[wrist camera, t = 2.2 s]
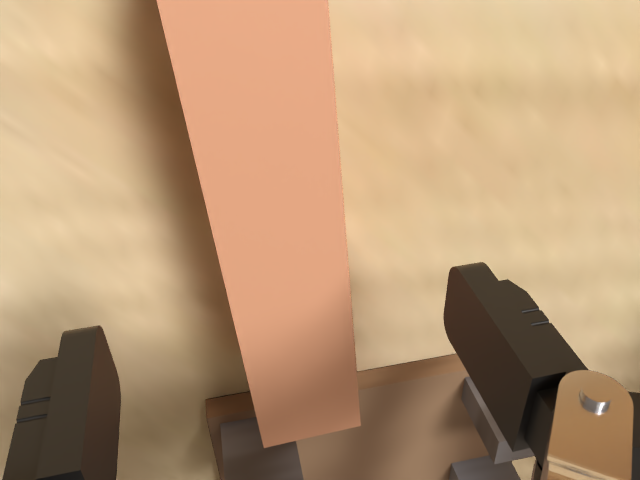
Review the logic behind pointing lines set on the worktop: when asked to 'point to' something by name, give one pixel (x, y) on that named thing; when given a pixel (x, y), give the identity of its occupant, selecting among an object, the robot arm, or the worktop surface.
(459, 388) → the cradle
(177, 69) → the terracotta clay brick
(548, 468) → the robot arm
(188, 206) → the worktop surface
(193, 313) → the worktop surface
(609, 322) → the worktop surface
